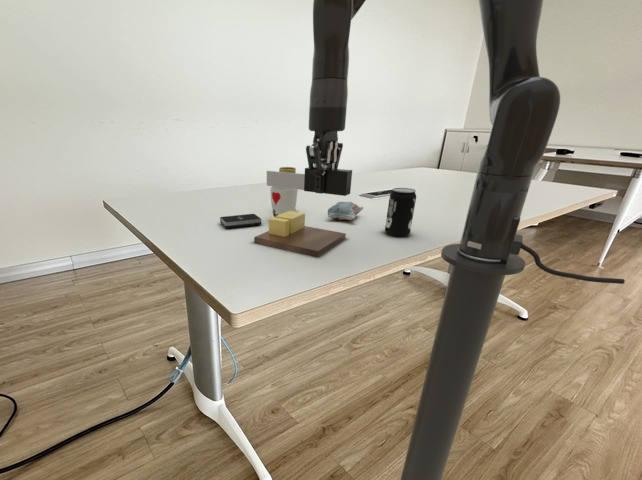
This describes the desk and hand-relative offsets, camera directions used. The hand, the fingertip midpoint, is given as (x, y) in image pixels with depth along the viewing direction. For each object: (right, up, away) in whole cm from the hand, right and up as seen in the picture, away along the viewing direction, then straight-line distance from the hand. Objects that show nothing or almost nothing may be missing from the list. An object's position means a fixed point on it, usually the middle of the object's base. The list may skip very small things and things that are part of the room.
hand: (322, 191), depth 77 cm
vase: (-7, +3, +39) cm, 40 cm away
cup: (-8, -2, +29) cm, 31 cm away
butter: (-6, -6, +16) cm, 18 cm away
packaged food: (+12, -1, +32) cm, 34 cm away
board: (-4, -10, +12) cm, 16 cm away
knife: (-3, +1, +2) cm, 4 cm away
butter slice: (-10, -8, +11) cm, 17 cm away
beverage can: (+23, -7, +17) cm, 30 cm away
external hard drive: (-21, -4, +25) cm, 33 cm away
